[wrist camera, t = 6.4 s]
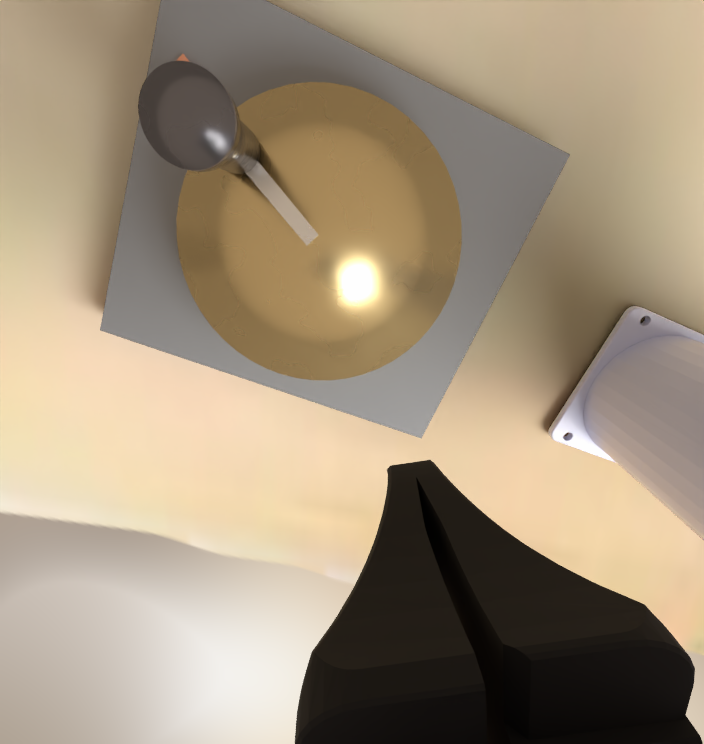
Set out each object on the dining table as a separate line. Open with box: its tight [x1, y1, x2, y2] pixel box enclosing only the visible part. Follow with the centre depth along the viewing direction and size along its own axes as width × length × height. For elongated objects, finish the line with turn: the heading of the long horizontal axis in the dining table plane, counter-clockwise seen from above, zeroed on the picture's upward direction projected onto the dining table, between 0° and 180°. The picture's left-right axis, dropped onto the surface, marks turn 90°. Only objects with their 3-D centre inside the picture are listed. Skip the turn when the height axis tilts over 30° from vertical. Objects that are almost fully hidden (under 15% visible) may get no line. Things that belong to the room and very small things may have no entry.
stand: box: [100, 0, 570, 438], centre depth 18 cm, size 16×14×2 cm
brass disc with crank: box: [138, 61, 462, 380], centre depth 14 cm, size 11×11×7 cm
